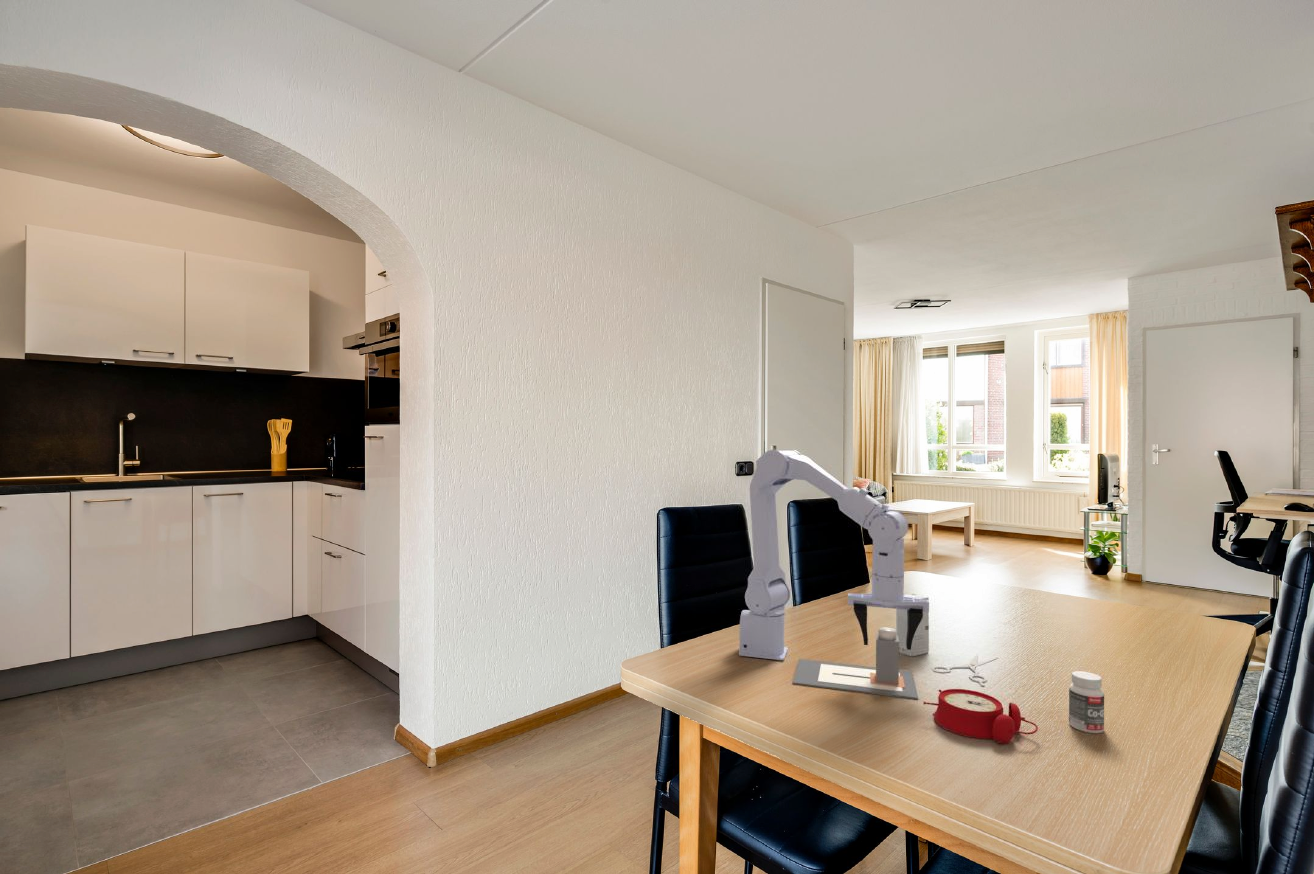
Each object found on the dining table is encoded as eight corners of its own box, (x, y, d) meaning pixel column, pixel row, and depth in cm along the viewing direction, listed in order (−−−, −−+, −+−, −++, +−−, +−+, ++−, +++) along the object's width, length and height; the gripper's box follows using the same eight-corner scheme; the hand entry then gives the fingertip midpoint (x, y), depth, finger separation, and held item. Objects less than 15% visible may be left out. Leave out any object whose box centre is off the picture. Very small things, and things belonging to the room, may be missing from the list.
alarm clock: (939, 683, 112) (1036, 685, 102) (947, 721, 111) (1046, 727, 101) (917, 700, 104) (1020, 705, 94) (925, 742, 103) (1031, 751, 93)
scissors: (926, 671, 128) (962, 647, 142) (926, 675, 128) (962, 651, 142) (983, 685, 120) (1015, 659, 135) (983, 689, 120) (1015, 663, 135)
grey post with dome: (876, 681, 121) (876, 631, 121) (875, 674, 125) (876, 625, 125) (898, 684, 120) (899, 633, 120) (897, 677, 123) (898, 627, 123)
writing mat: (792, 683, 121) (792, 681, 121) (799, 660, 134) (799, 657, 134) (918, 699, 114) (918, 696, 114) (912, 672, 127) (912, 670, 127)
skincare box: (912, 657, 137) (913, 600, 137) (894, 651, 140) (895, 596, 141) (930, 652, 140) (930, 596, 140) (912, 646, 144) (912, 592, 144)
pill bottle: (1091, 736, 100) (1092, 682, 100) (1062, 723, 105) (1062, 672, 105) (1110, 730, 102) (1111, 678, 102) (1081, 719, 107) (1081, 668, 107)
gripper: (847, 575, 121) (846, 647, 121) (931, 581, 116) (930, 656, 116) (848, 568, 127) (847, 637, 127) (927, 574, 123) (926, 645, 123)
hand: (886, 645), depth 122 cm, fingers open, 7 cm apart
